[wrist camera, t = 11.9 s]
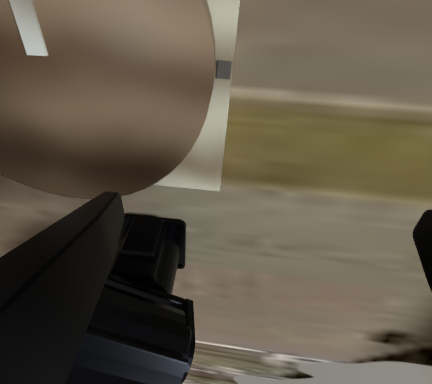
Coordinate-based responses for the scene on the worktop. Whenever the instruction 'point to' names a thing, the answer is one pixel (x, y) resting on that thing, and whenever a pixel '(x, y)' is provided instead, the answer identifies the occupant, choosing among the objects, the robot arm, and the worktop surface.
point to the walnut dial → (102, 91)
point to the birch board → (212, 108)
